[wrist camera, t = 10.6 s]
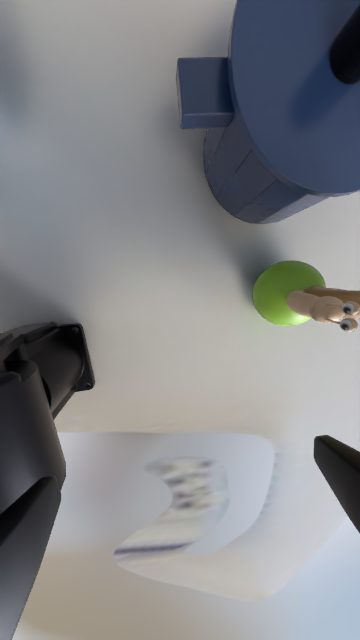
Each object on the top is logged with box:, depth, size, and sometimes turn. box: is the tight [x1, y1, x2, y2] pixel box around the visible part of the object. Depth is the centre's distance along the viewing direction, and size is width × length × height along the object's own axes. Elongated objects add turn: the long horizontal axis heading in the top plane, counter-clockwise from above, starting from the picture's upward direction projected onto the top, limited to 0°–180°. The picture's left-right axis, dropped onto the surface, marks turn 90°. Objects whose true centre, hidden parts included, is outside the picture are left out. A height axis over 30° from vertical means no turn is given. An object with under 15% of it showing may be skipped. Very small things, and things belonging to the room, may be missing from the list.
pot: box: [176, 57, 328, 224], centre depth 13 cm, size 11×16×7 cm, turn 96°
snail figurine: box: [253, 261, 360, 332], centre depth 14 cm, size 5×6×12 cm
